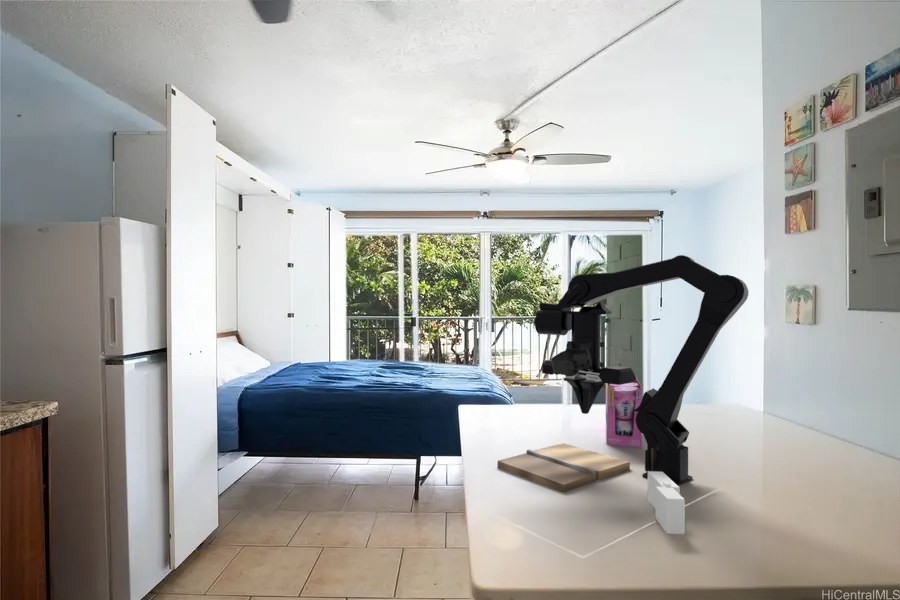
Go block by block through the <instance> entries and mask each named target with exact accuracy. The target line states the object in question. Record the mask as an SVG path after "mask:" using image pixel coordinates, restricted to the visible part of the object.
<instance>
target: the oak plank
mask: <svg viewBox="0 0 900 600" xmlns="http://www.w3.org/2000/svg"><path fill="white" fill-rule="evenodd" d="M532 450H533V449H532ZM533 451H536V452H539V453H542V454H545V455H549V456H552V457H555V458H558V459H561V460H565V461H568V462H571V463H574V464H577V465H581V466H584V467H587V468H590V469H593V470H596V479H597V480H598V481H600V480H602V479H605V478H608V477H611V476H614V475H617V474H619V473H622V472H625V471H628V470H630V469H631V468H630V466H631V462H630V461H628V460H624V459H621V458H617V457H613V456H610V455H606V454H604V453H600V452H599V453H598V452H597V451H592V450H589V449H587V448H586V449H585V448H582V447H578V446H574V445H571V444H567V443H559V444H555V445H549V446H547V447H542V448H538V449H534V450H533Z"/></svg>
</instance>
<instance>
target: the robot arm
mask: <svg viewBox="0 0 900 600" xmlns="http://www.w3.org/2000/svg"><path fill="white" fill-rule="evenodd" d="M678 279H681V280H683V281H685V283H688V284H689V285H690V286H692V287H694V288H695V289H697V290H698V291H701V292H702V293H704V294H703V297H702V299H701V303H700V307H699V312H698V317H697V320H696V322H695V324H694V326H693V328H692V329H691V331H690V333H689V334H688V336H687V338H686V340H685V342H684V344H683V345H682V347H681V349H680V351H679V353H678V355H677V356H676V359H675V361H674V362H673V363H672V366H671V368H670V369H669V370H668V373H667V374H666V376H665V378H664V379H663V382H662V383H661V385H660V387H659V388H658V389H655V387H653V388H650V389H649V390H646V391H645V392H644V393H643V394H642V401H641V404H640V405H639V407H638V408H636V409H635V412H638V413H637V415H636V418H635V422H636V425H637V428H638V429H639V431H640V432H641V433H642V436H644V440H645V443H646V445H647V446H646V449H645V450H644V471H645V472H644V473H641V474H642V476H641V477H642V478H645V479H648V471H654V472H663V473H664V474H665V475H667V476H668V477H669V478H670V479H671V480H672V481H673V482H674V483H675V484H677V485H678V486H679V487H680V486H681V485H684V484H685V483H688V482H689V481H691V480H693V476H692V475H689V446H686V445H684V443H686V442H687V440H688V438H689V435H690V431H689V430H688V429H687V428H686V427H685V426H684V425H683V423H681V422H680V420H679V419H678V417H679V415H680V411H681V407H682V403H683V398H684V394H685V393H686V391H687V390H688V387H689V386H690V384H691V382H692V380H693V378H694V377H695V375H696V374H697V372H698V370H699V368H700V366H701V365H702V363H703V361H704V359H705V357H706V356H707V354H708V352H709V350H710V349H711V347H712V346H713V343H714V342H715V340H716V338H717V337H718V335H719V333H720V331H721V330H722V329H723V327H725V325H726V324H727V323H728V322H729V321H730V320H731V319H733V317H734V316H735V314H736V313H737V312H738V311H739V310H740V308H741V307H742V306H743V305H744V304H745V303H746V301H747V300H748V296H749V288H748V285H747V284H746V282H744V281H743V280H742V279H740V278H738V277H737V276H733V275H730V274H718V273H717V272H715V271H713V270H711V269H709V268H707V267H705V266H704V265H702V264H700V263H698V262H696V261H695V260H694V259H693V258H691V257H690V256H687V255H683V254H680V255H679V254H678V255H676V256H673V257H672V258H668V259H664V260H660V261H655V262H652V263H648V264H643V265H639V266H636V267H632V268H627V269H623V270H618V271H615V272H604V273H600V272H599V273H598V272H597V273H584V274H582V273H581V274H577V275H575V276H572V277H571V280H570V281H569V283H568V287H567V290H566V292H565V293H564V294H563V296H562V297H561V299H560V300H559V302H557V303H550V302H540V303H539V308H538V310H537V311H536V315H535V317H534V328H535V331H536V332H537V334H538V335H551V336H566V335H567V334H568V332H570V333H571V339H570V340H567V343H566V348H565V350H563V351H561V352H559V353H558V354H556V355H555V356H553V357H552V358H551V359H544V361H543V363H542V364H541V374H545V375H550V376H553V375H555V376H556V375H557V376H558V375H559V376H560V375H562V376H565V377H562V379H563V381H564V382H567V383H568V384H569V386H571V388H572V390H573V391H574V393H575V397H576V400H577V404H578V405H579V408H580V411H581V414H585V415H587V414H589V413H590V410H591V409H592V407H593V404H594V402H595V400H596V398H597V396H598V394H599V392H600V391H601V389H602V388H603V386H604V384H606V383H608V384H615V385H620V384H626V383H632V382H634V375H635V373H634V370H633V369H632V367H629V366H628V367H627V366H619V365H614V366H613V365H612V366H605V362H604V361H601V348H605V341H601V333H602V332H601V330H602V329H601V325H602V323H601V321H602V318H601V316H603V315H606V316H607V315H611V314H612V311H611V310H610V309H609V308H608V307H607V306H606V305H605V303H604V302H601V301H603V300H605V299H609V298H610V297H612V296H614V295H616V294H619V293H621V292H624V291H627V290H632V289H637V288H643V287H647V286H651V285H655V284H660V283H666V282H670V281H674V280H678ZM596 303H597V304H596ZM588 304H596V305H594V306H592V305H591V306H589V305H588ZM587 305H588V306H587ZM572 308H575V309H576V308H578V310H577V311H576V310H572ZM579 308H580V309H579Z"/></svg>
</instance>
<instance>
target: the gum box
mask: <svg viewBox="0 0 900 600" xmlns="http://www.w3.org/2000/svg"><path fill="white" fill-rule="evenodd" d="M642 389H643V388H642V384H641V383H640V381H639V380H638V378H637V375H636V374H634V382H632V383H626V384H620V385H615V384H608V383H605V439H606V442H605V443H606V445H607V446H608V445H611V446H620V447H621V446H622V447H632V448H640V449H642V447H643V434H642V433H641V432H640V431H639V429H638V428H637V425H636V422H635V418H636V415H637V413H638V412H635V409H636V408H638V407H639V405H640V404H641V401H642V398H643V394H642V393H643V392H642Z"/></svg>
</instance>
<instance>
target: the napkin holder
mask: <svg viewBox="0 0 900 600" xmlns="http://www.w3.org/2000/svg"><path fill="white" fill-rule="evenodd" d="M680 489H681V488H680V485H679V486H678V485H677V484H675V483H674V482H673V481H672V480H671V479H670V478H669V477H668V476H667V475H665V474H664V473H663V472H654V471H648V478H647V501H648V502H649V503H650V505H651V506H652V507H653V508H654V509H655V521H656V522H657V523H658V524H659V525H660V526H661V528H662V530H664V532H665V533H666V534H667V535H668V534H670V535H685V533H686V532H685V527H686V526H685V523H686V521H685V518H686V517H685V514H686V513H685V511H686V509H685V508H686V507H685V506H686V504H685V502H686V501H685V498H684V497H683V496H682V495H681V494H680V492H681V491H680Z"/></svg>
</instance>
